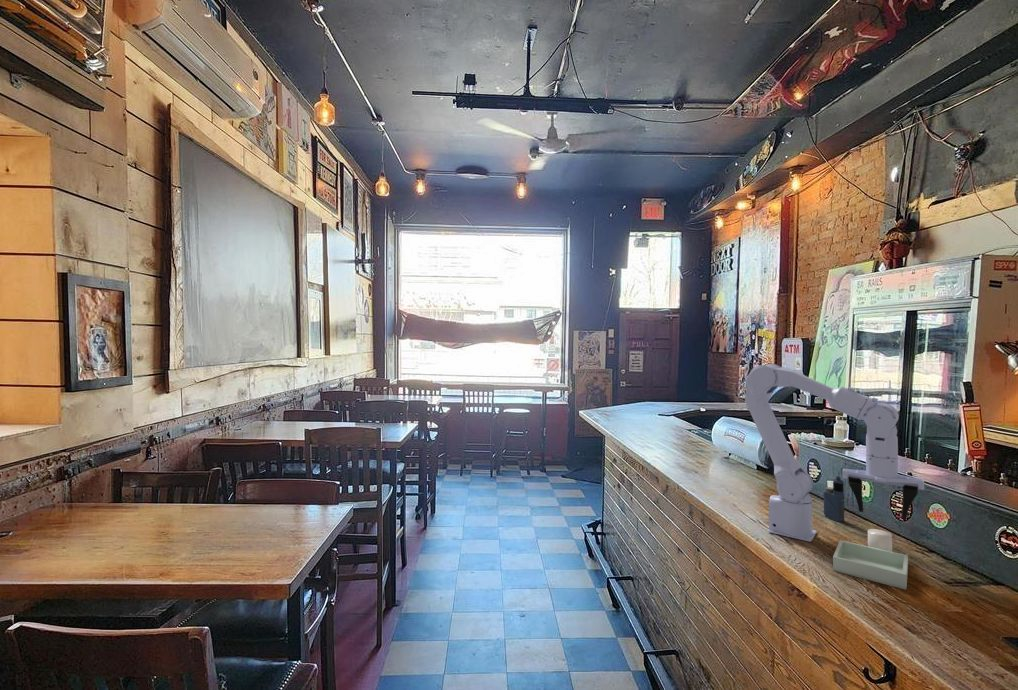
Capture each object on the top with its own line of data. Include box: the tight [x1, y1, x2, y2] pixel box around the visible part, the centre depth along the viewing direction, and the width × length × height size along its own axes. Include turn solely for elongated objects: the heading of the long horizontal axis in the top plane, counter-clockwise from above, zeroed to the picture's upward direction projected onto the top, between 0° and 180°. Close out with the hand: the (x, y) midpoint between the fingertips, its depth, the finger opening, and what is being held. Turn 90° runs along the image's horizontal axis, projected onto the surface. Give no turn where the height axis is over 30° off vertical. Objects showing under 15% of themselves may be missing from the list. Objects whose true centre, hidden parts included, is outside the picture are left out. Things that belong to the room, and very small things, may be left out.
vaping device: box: [823, 476, 845, 523], centre depth 128 cm, size 3×5×12 cm, turn 16°
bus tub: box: [832, 539, 909, 591], centre depth 99 cm, size 12×11×3 cm
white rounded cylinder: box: [867, 528, 893, 552], centre depth 106 cm, size 4×4×5 cm
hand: (882, 514), depth 106 cm, fingers open, 7 cm apart
